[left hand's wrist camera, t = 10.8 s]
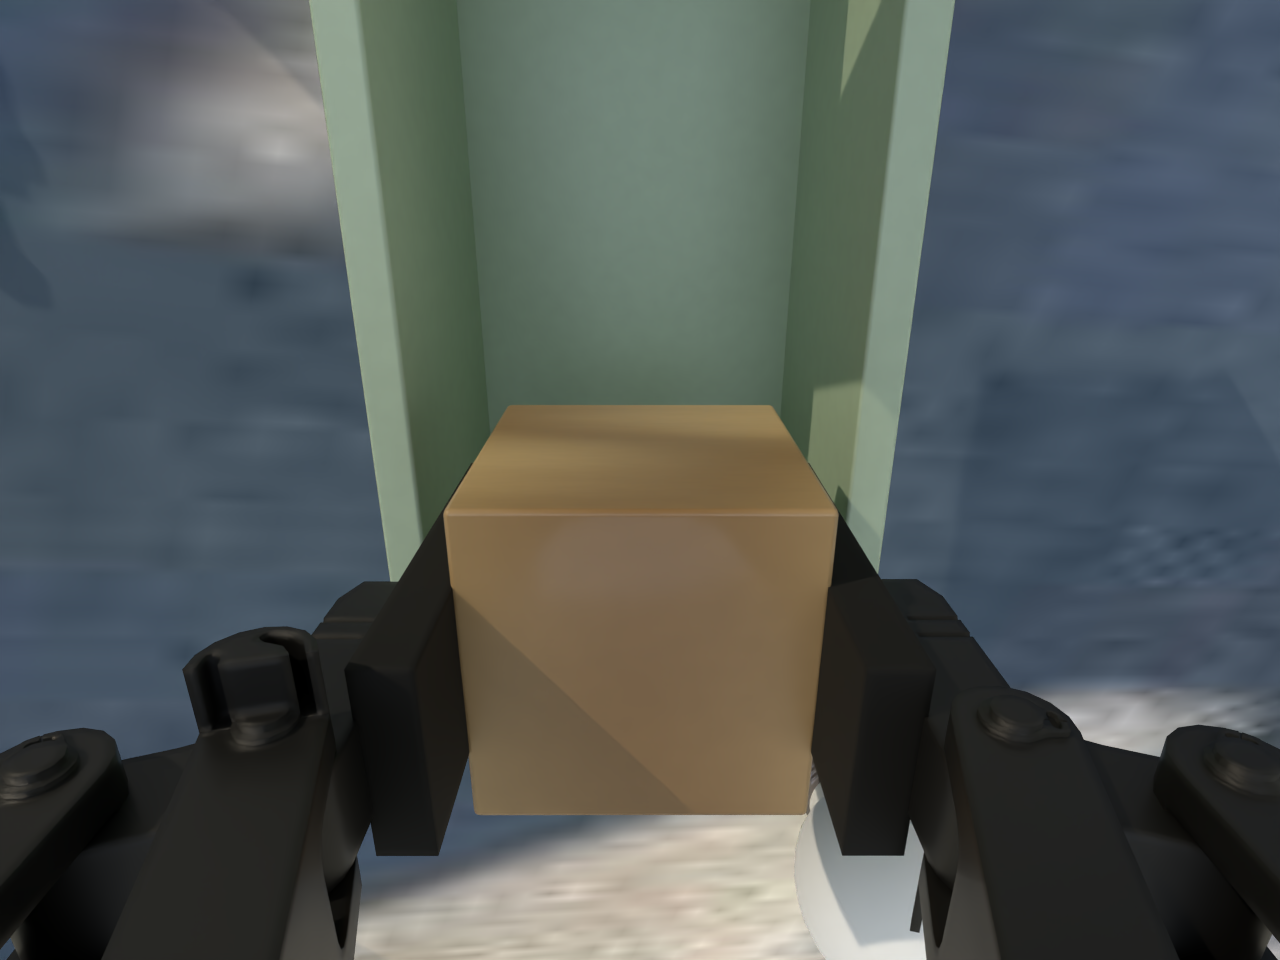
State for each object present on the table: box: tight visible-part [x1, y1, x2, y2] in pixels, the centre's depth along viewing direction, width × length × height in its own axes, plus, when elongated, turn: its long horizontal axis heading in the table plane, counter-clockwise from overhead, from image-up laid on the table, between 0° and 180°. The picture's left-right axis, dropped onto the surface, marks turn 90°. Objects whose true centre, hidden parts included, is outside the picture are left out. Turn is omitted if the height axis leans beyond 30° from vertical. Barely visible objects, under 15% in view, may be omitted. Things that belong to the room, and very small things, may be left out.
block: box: [443, 405, 839, 815], centre depth 12 cm, size 5×5×5 cm
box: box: [309, 0, 955, 582], centre depth 15 cm, size 10×26×8 cm, turn 0°
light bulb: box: [794, 759, 926, 960], centre depth 32 cm, size 7×7×11 cm
